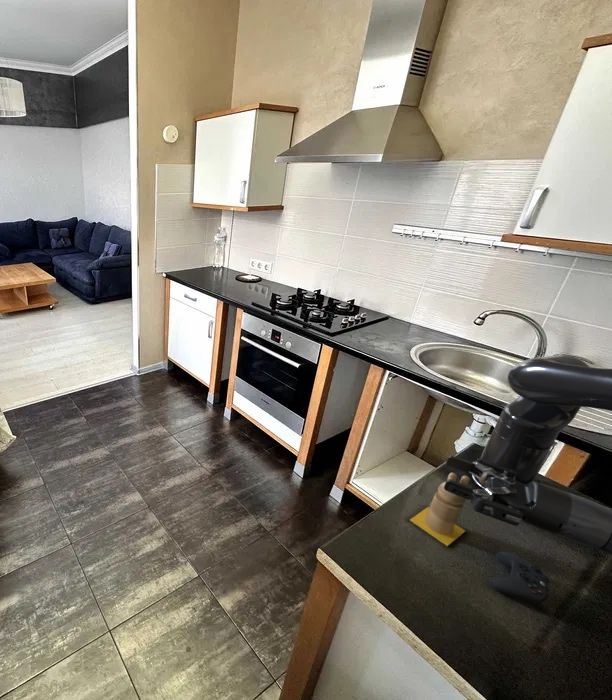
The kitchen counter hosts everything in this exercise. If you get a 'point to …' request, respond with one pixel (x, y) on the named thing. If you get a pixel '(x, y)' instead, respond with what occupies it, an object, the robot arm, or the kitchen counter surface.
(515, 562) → the game controller
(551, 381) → the robot arm
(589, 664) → the kitchen counter surface
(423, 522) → the flat yellow rectangular block
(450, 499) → the toy rabbit
